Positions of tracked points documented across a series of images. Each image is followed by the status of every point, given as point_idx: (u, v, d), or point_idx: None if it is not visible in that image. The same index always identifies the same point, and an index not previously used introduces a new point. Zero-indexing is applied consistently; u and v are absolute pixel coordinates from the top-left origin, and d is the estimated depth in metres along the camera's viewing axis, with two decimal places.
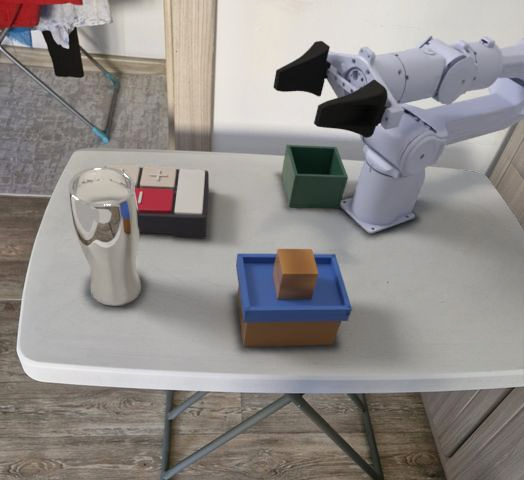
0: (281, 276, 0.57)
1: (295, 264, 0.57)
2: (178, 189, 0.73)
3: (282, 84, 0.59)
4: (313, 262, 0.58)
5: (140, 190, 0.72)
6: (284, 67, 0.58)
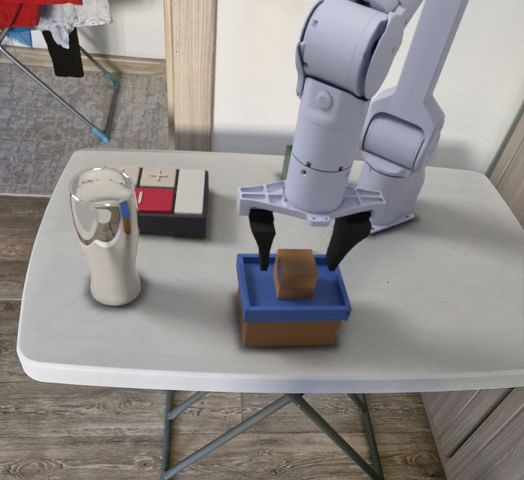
0: (281, 276, 0.57)
1: (295, 264, 0.57)
2: (178, 189, 0.73)
3: None
4: (313, 262, 0.58)
5: (140, 190, 0.72)
6: (264, 266, 0.56)
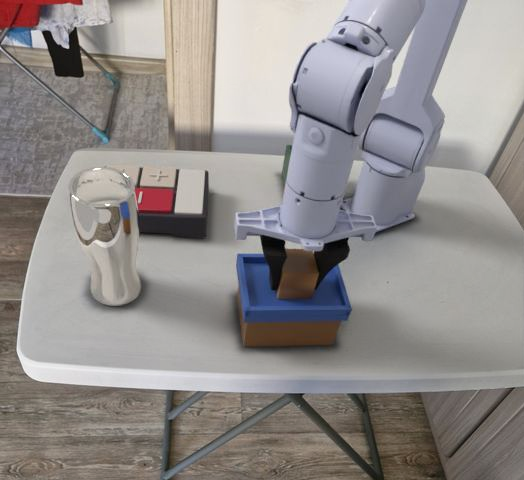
0: (281, 276, 0.57)
1: (296, 264, 0.57)
2: (178, 189, 0.73)
3: None
4: (313, 262, 0.58)
5: (140, 190, 0.72)
6: (275, 286, 0.59)
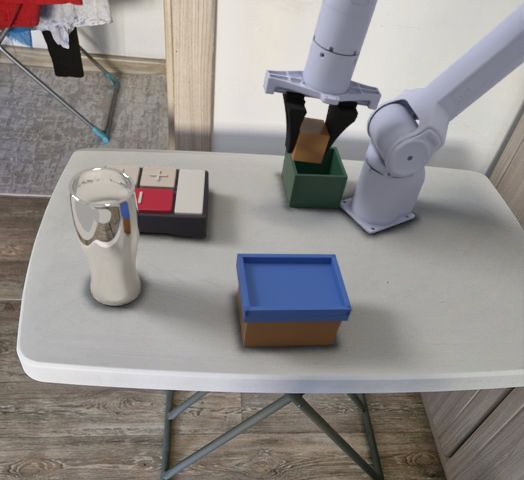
0: (298, 135, 0.67)
1: (310, 127, 0.68)
2: (178, 189, 0.73)
3: None
4: (325, 128, 0.68)
5: (140, 190, 0.72)
6: (291, 148, 0.69)
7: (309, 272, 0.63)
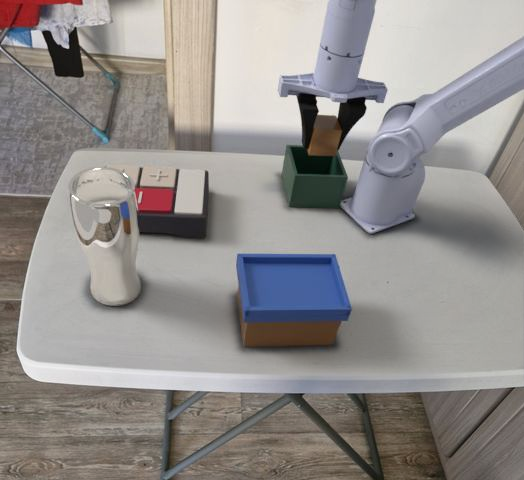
0: (313, 132, 0.73)
1: (324, 124, 0.74)
2: (178, 189, 0.73)
3: None
4: (337, 123, 0.74)
5: (140, 190, 0.72)
6: (307, 144, 0.75)
7: (309, 272, 0.63)
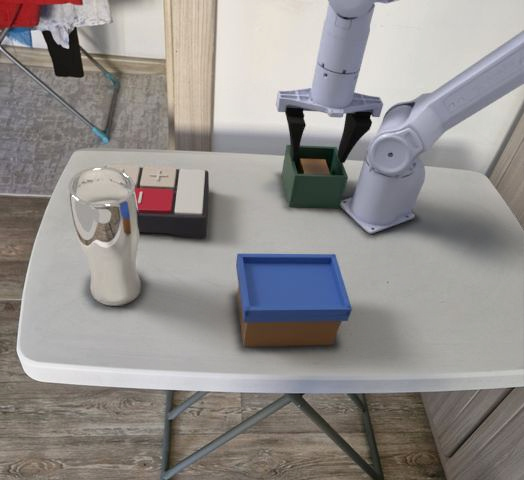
0: None
1: (313, 168, 0.79)
2: (178, 189, 0.73)
3: None
4: (326, 167, 0.80)
5: (140, 190, 0.72)
6: (295, 156, 0.76)
7: (309, 272, 0.63)
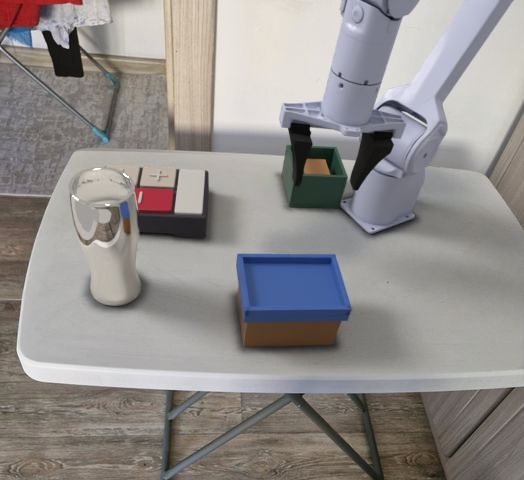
0: None
1: (313, 168, 0.79)
2: (178, 189, 0.73)
3: None
4: (326, 167, 0.80)
5: (140, 190, 0.72)
6: (298, 181, 0.64)
7: (309, 272, 0.63)
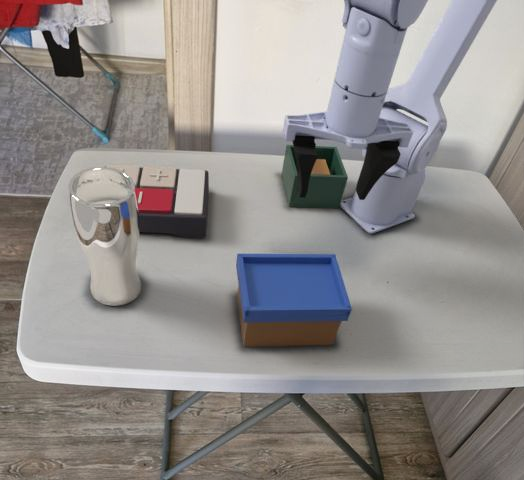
0: None
1: (313, 168, 0.79)
2: (178, 189, 0.73)
3: None
4: (326, 167, 0.80)
5: (140, 190, 0.72)
6: (303, 192, 0.63)
7: (309, 272, 0.63)
